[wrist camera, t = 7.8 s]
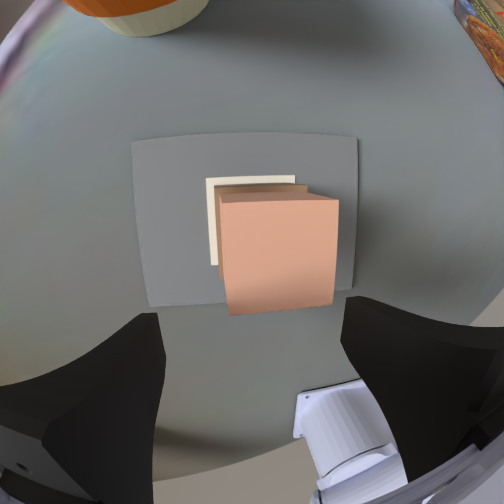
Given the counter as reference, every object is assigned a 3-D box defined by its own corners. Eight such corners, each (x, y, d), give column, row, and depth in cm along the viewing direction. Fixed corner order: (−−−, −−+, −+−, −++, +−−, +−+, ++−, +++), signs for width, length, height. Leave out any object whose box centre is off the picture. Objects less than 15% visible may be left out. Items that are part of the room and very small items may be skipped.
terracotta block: (303, 191, 15) (338, 200, 10) (301, 270, 16) (332, 304, 12) (219, 194, 14) (222, 203, 10) (223, 276, 15) (228, 315, 11)
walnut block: (287, 182, 18) (307, 185, 15) (288, 253, 20) (306, 272, 16) (213, 185, 18) (214, 188, 14) (217, 257, 19) (219, 279, 15)
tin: (440, 0, 15) (484, -20, 7) (446, -5, 14) (487, -23, 6) (504, 96, 19) (550, 94, 11) (508, 86, 19) (551, 83, 11)
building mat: (354, 138, 19) (357, 137, 18) (349, 287, 22) (351, 289, 21) (133, 142, 17) (131, 141, 16) (150, 304, 20) (149, 307, 19)
